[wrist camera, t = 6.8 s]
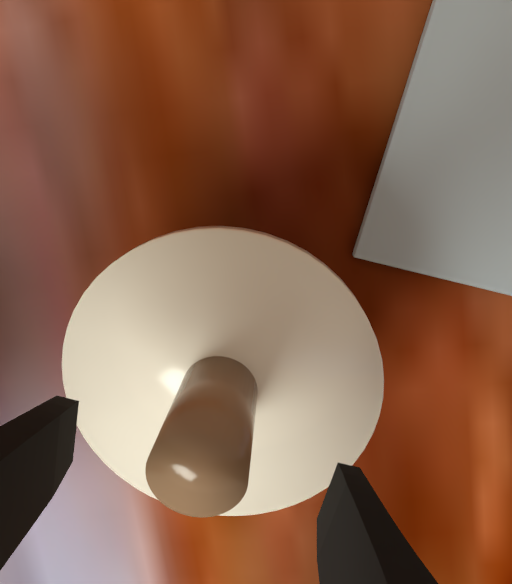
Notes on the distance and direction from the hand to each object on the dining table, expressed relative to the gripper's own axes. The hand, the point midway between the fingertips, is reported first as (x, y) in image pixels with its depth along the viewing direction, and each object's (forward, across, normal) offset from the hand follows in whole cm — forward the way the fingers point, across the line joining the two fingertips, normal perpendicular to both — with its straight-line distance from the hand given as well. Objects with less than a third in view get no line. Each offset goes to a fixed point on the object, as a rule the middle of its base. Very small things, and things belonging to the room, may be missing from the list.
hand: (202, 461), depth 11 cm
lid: (+4, 0, 0) cm, 4 cm away
